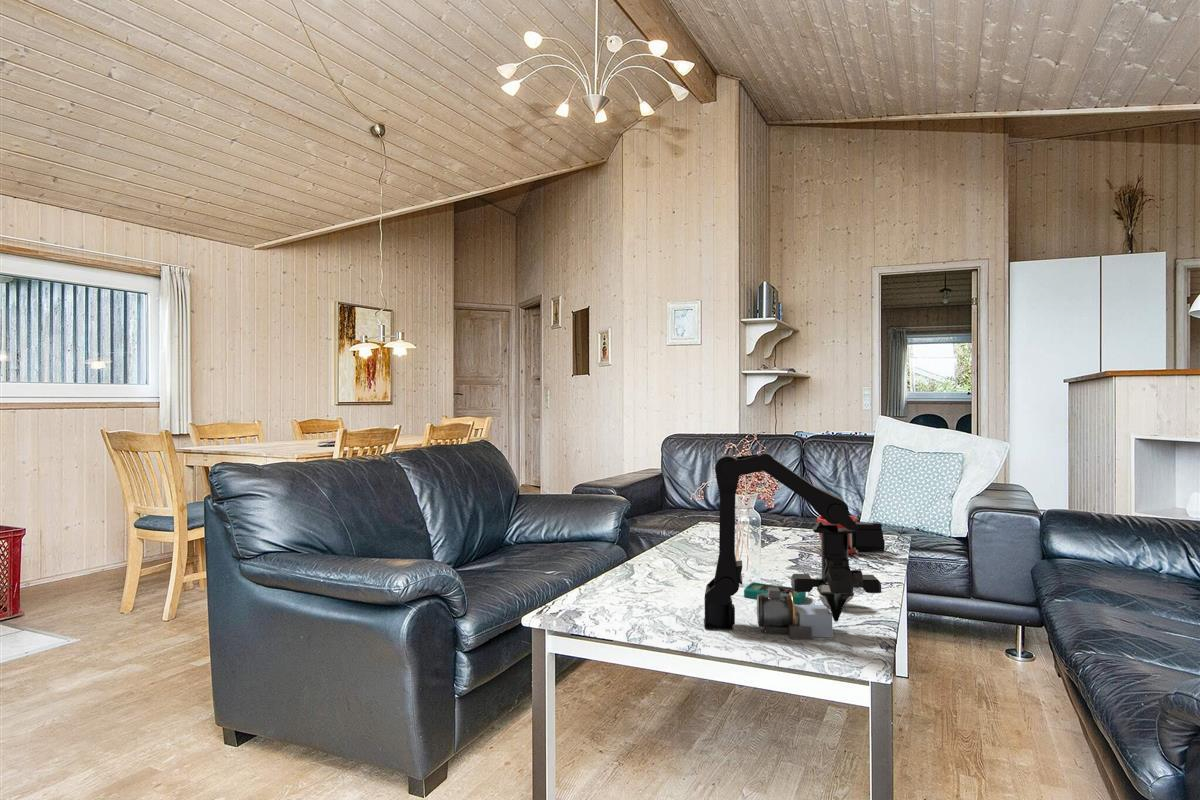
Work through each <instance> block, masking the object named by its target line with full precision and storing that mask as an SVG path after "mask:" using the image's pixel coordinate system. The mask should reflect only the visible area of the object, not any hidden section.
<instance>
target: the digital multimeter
mask: <svg viewBox="0 0 1200 800" xmlns="http://www.w3.org/2000/svg"><path fill="white" fill-rule="evenodd" d="M768 587H775V588H779V590H780V594H789V593H792V595H793V599H794V605H803V603H805V602H806V600H807V599H806V598H807V592H796V591H794V589H793V587H792V586H791V587H790V586H782V585H775V584H767V583H761V582H750V583H749V584H748V585H747V586H746V587H745V588H744V589H743V598H746V599H753V600H754V599H755V600H757V595H758V594H768Z"/></svg>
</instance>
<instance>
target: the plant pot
mask: <svg viewBox="0 0 1200 800" xmlns="http://www.w3.org/2000/svg"><path fill="white" fill-rule="evenodd" d="M849 516H850V517H851V518H853V519H854V520H855V523H859V522H858V517H856V516H854V515H849ZM816 519H817V521H816V522H817V523H818V521H821V522H822V523H823V524H827V525H837V527H838V528H842V529H847V528H845V527H844V526H842V525H841V524H831V523H829V522H828V521H826V520H825V519H824V518H823V517H822V516H821V515H819V516H817V518H816ZM817 523H816V524H817ZM818 536H819V538H820V540H821V533H818ZM854 553H856V551H855V548H851V546H850V534H849V533H848V555H851V554H854Z"/></svg>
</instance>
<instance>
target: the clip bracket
mask: <svg viewBox="0 0 1200 800" xmlns="http://www.w3.org/2000/svg"><path fill="white" fill-rule="evenodd" d="M788 628H789V635H788V637H789V639H790V640H803V641H804V640H805V641H809V640H810V641H812V640H813V637H812V628H811V627H806V626H795V625H789V627H788Z"/></svg>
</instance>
